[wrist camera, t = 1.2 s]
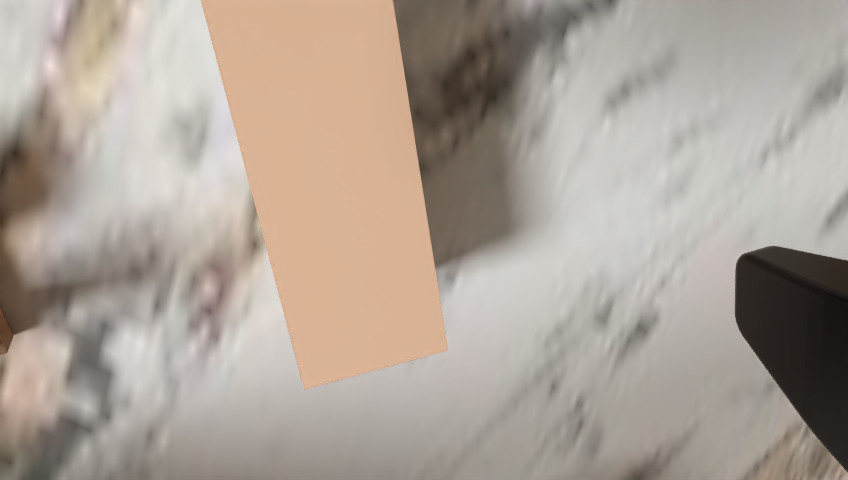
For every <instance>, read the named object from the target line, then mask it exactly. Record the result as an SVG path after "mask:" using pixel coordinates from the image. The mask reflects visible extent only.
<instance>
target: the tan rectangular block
mask: <svg viewBox="0 0 848 480" xmlns="http://www.w3.org/2000/svg"><path fill="white" fill-rule="evenodd" d="M201 3H202V6H203V10H204V14H205V18H206V22H207V25H208V29H209V33H210V37H211V40H212V44H213V48H214V52H215V55H216V59H217V63H218V67H219V71H220V74H221V78H222V82H223V86H224V89H225V93H226V97H227V101H228V104H229V108H230V112H231V116H232V120H233V123H234V127H235V131H236V135H237V138H238V142H239V146H240V150H241V153H242V157H243V161H244V165H245V169H246V172H247V176H248V180H249V184H250V187H251V191H252V195H253V199H254V202H255V206H256V210H257V214H258V218H259V221H260V225H261V229H262V233H263V236H264V240H265V244H266V248H267V251H268V255H269V259H270V263H271V267H272V270H273V274H274V278H275V282H276V285H277V289H278V293H279V297H280V300H281V304H282V308H283V312H284V316H285V319H286V323H287V327H288V331H289V334H290V338H291V342H292V346H293V349H294V353H295V357H296V361H297V365H298V368H299V372H300V376H301V380H302V383H303V387H304V390H305V389H308V388H312V387H316V386H319V385H323V384H326V383H330V382H334V381H337V380H341V379H345V378H348V377H352V376H356V375H359V374H363V373H367V372H370V371H374V370H378V369H381V368H385V367H389V366H392V365H396V364H400V363H403V362H407V361H411V360H414V359H418V358H422V357H425V356H429V355H433V354H436V353H440V352H444V351H447V350H448V347H447V340H446V334H445V328H444V321H443V315H442V309H441V302H440V296H439V290H438V283H437V277H436V271H435V264H434V258H433V251H432V245H431V239H430V232H429V226H428V220H427V213H426V207H425V201H424V194H423V188H422V182H421V175H420V169H419V163H418V156H417V150H416V143H415V137H414V131H413V124H412V118H411V112H410V105H409V99H408V93H407V86H406V80H405V74H404V67H403V61H402V55H401V48H400V42H399V36H398V29H397V23H396V16H395V10H394V4H393V0H201Z"/></svg>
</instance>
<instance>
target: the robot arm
mask: <svg viewBox="0 0 848 480" xmlns="http://www.w3.org/2000/svg"><path fill="white" fill-rule="evenodd" d="M735 318H736V322H737V325H738V328H739V330H740V332H741V334H742V335H743V337H744V338H745V340H746V341H747V343H748V344H749V345H750V347H751V348H752V349H753V351H754V352H755V354H756V355H757V356H758V358H759V359H760V361H761V362H762V363H763V365H764V366H765V368H766V369H767V370H768V372H769V373H770V374H771V376H772V377H773V379H774V380H775V381H776V383H777V384H778V386H779V387H780V388H781V390H782V391H783V393H784V394H785V395H786V397H787V398H788V399H789V401H790V402H791V404H792V405H793V406H794V408H795V409H796V411H797V412H798V413H799V415H800V416H801V417H802V419H803V420H804V421H805V423H806V424H807V425H808V427H809V428H810V429H811V430H812V432H813V433H814V434H815V435H816V437H817V438H818V439H819V440H820V441H821V442H822V444H823V445H824V446H825V447H826V448H827V449H828V451H829V452H830V453H831V454H832V455H833V456H834V457H835V459H836V460H837V461H838V462H839V463H840V464H841V465H842V466H843V467H844V469H845V470H846V471H847V472H848V261H847V260H842V259H837V258H832V257H827V256H822V255H817V254H812V253H807V252H803V251H798V250H793V249H788V248H783V247H778V246H768V247H765V248H762V249H758V250H755V251H751V252H748V253H745V254H743V255H741V256H740V257H739V259H738V261H737V263H736V275H735Z"/></svg>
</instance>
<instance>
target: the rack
mask: <svg viewBox="0 0 848 480" xmlns="http://www.w3.org/2000/svg"><path fill="white" fill-rule="evenodd" d="M12 339H13V334H12V332H11V330H10V327H9V325H8V323H7V321H6V319H5V317H4V314H3V312H2V310H1V308H0V355H2V354H5V353H7V352H8V349H9V346H10V344H11V341H12Z"/></svg>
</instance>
